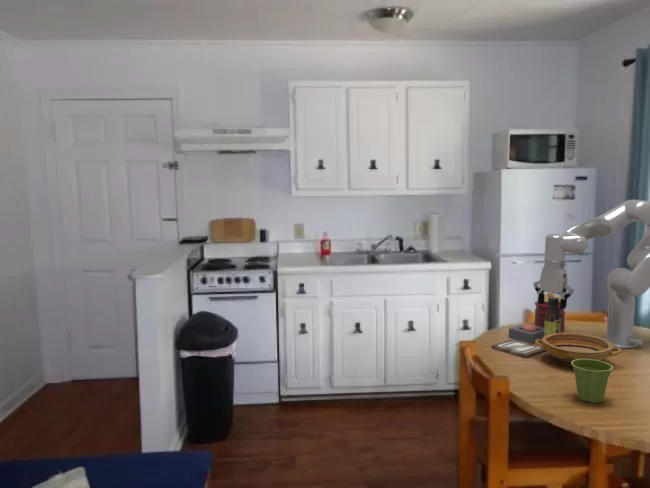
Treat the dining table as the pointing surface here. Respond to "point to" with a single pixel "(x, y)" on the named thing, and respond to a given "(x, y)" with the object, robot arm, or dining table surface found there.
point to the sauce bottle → (552, 318)
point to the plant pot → (591, 379)
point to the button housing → (526, 334)
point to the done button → (529, 327)
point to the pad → (519, 348)
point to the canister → (543, 308)
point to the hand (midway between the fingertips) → (551, 306)
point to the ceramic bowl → (577, 347)
